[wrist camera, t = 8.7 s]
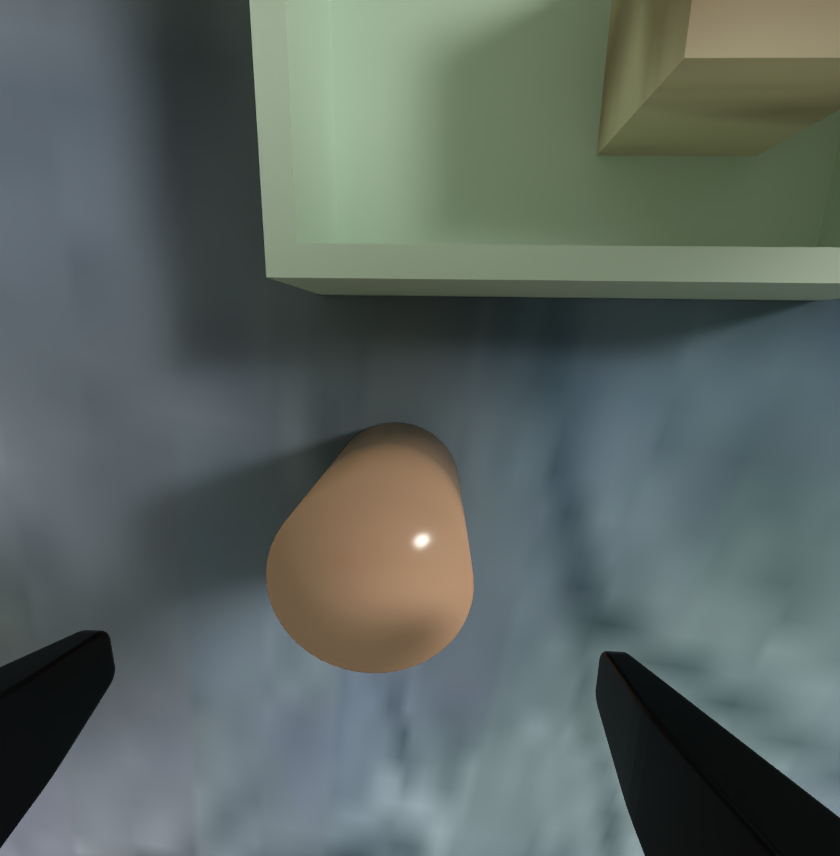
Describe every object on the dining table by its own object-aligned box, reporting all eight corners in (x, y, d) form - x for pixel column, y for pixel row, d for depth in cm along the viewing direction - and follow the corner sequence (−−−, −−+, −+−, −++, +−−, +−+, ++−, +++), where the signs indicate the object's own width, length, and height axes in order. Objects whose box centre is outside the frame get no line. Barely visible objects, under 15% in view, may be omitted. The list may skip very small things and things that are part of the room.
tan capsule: (461, 424, 16) (478, 489, 10) (456, 542, 18) (469, 676, 11) (332, 420, 17) (258, 483, 10) (336, 538, 18) (272, 668, 11)
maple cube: (615, -33, 13) (726, -262, 8) (787, -34, 12) (1013, -270, 8) (596, 155, 14) (684, 57, 9) (755, 156, 14) (933, 56, 9)
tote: (924, -205, 12) (1261, -578, 7) (818, 300, 15) (1003, 284, 10) (302, -188, 13) (217, -519, 8) (319, 294, 16) (266, 277, 11)
